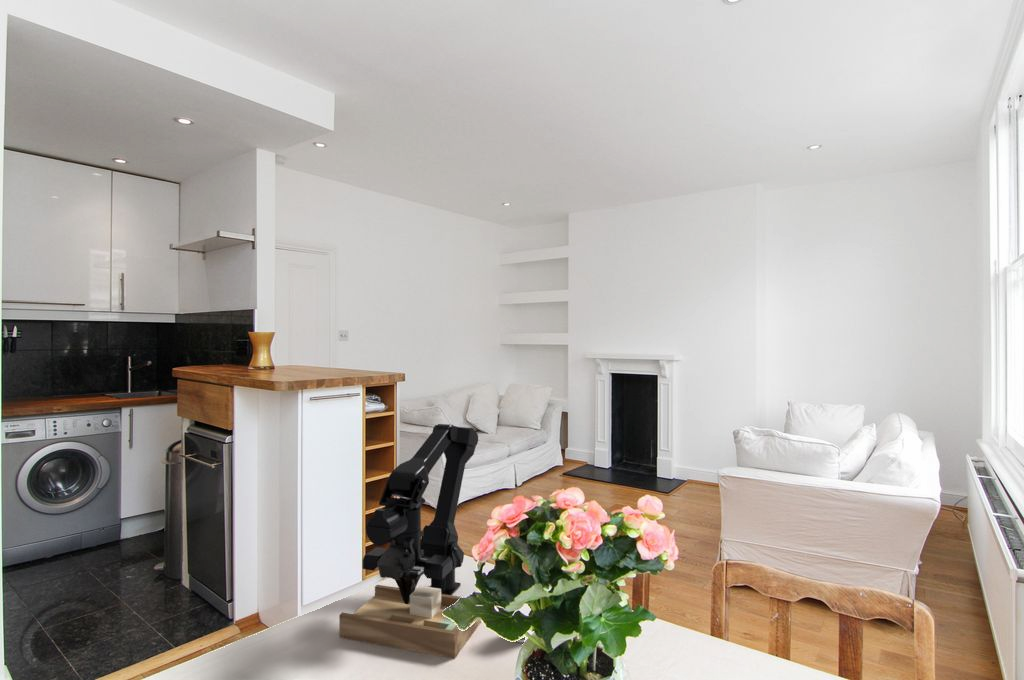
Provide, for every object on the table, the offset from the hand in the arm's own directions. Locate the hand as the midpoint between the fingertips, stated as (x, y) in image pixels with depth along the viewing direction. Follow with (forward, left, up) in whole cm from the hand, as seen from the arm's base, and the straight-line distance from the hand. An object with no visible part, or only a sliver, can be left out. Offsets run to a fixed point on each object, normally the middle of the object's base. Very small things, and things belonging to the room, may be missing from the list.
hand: (407, 603), depth 114 cm
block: (0, +4, -1) cm, 4 cm away
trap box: (+3, +2, -4) cm, 5 cm away
